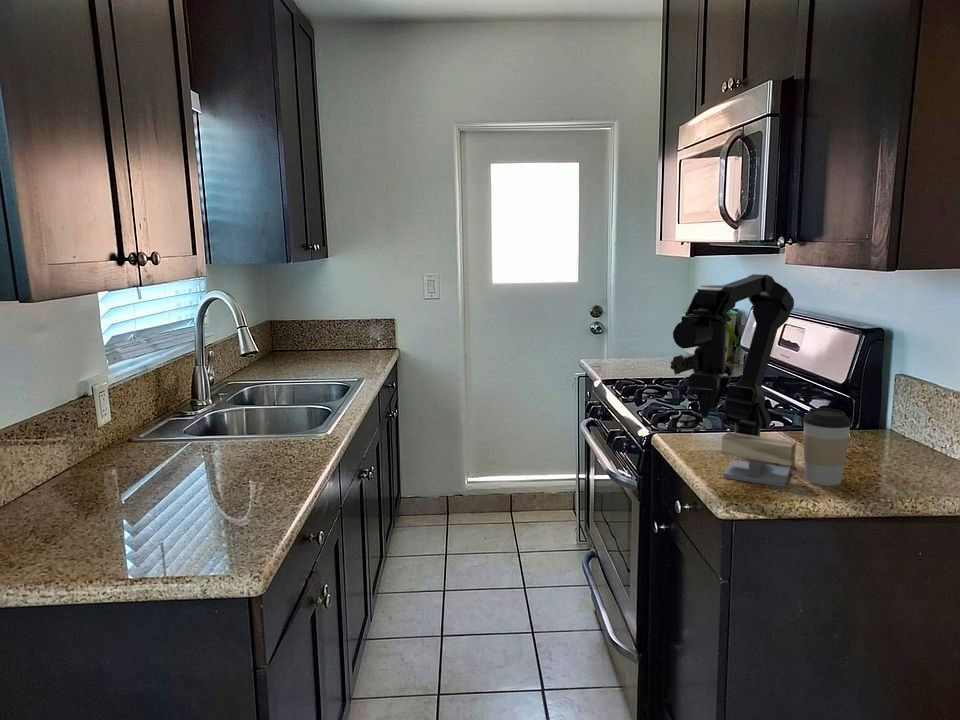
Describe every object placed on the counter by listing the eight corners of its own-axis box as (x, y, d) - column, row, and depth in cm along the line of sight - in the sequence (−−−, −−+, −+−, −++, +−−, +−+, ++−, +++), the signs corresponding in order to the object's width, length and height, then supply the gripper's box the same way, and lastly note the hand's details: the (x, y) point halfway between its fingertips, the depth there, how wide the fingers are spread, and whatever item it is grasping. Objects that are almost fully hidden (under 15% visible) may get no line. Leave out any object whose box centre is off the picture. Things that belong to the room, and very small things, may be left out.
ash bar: (727, 449, 151) (728, 431, 151) (795, 460, 143) (796, 442, 142) (721, 453, 148) (722, 436, 148) (790, 465, 140) (791, 446, 139)
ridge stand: (732, 464, 153) (732, 447, 153) (790, 472, 147) (791, 454, 147) (723, 477, 145) (724, 459, 144) (784, 486, 139) (785, 468, 138)
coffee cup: (848, 476, 144) (853, 407, 141) (846, 490, 136) (851, 417, 134) (801, 470, 149) (805, 403, 146) (796, 483, 141) (801, 412, 138)
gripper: (685, 335, 161) (683, 399, 164) (663, 347, 146) (661, 418, 148) (734, 338, 156) (731, 404, 159) (717, 350, 140) (714, 423, 143)
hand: (709, 412), depth 152 cm, fingers open, 9 cm apart
